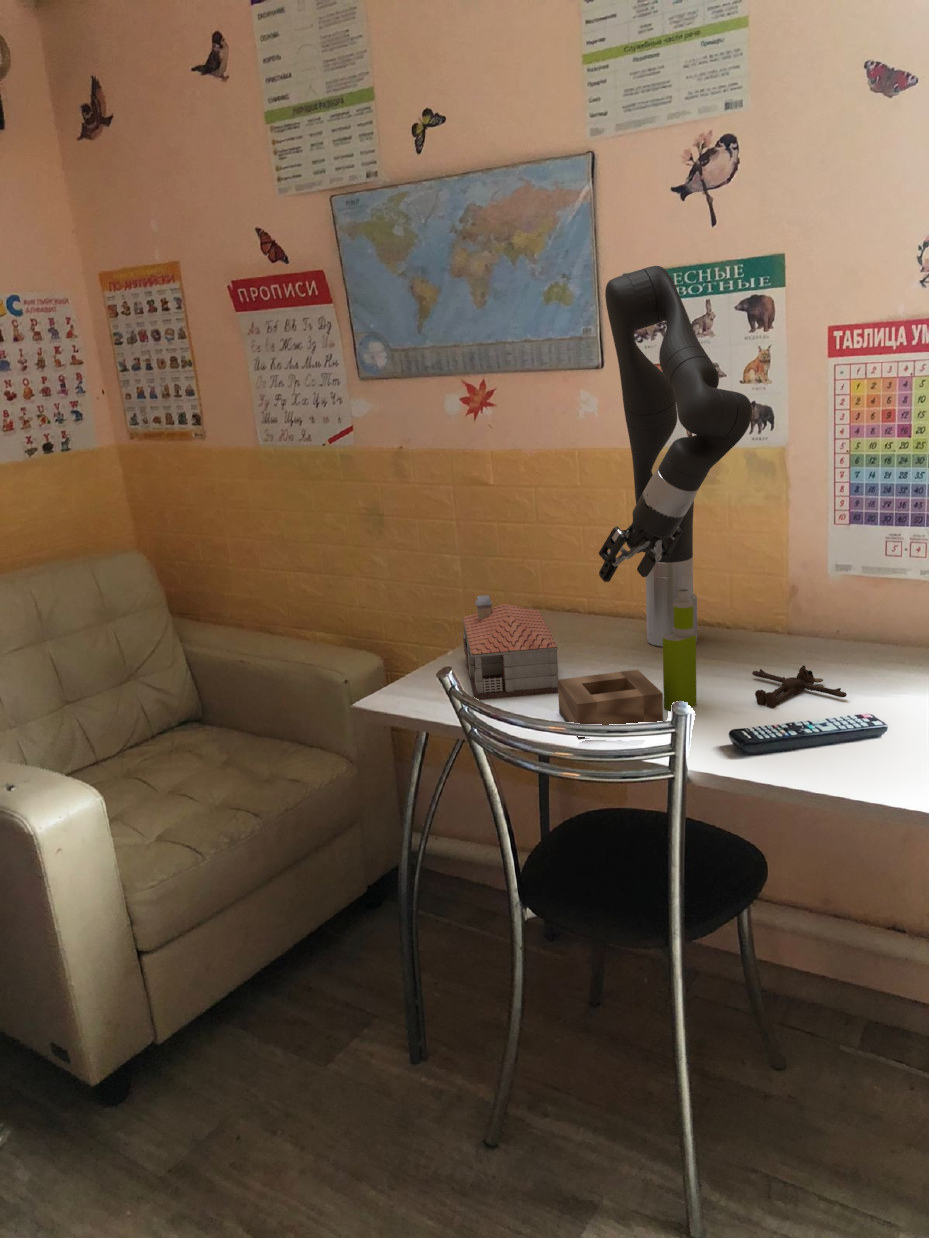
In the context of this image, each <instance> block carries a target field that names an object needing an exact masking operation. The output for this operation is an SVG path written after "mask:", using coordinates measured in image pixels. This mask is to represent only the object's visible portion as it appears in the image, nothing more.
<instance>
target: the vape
mask: <svg viewBox="0 0 929 1238" xmlns="http://www.w3.org/2000/svg"><path fill="white" fill-rule="evenodd" d="M673 606H674V627H673V632H671V633H668V634H666V635H663V647H662V673H663V674H662V676H663V677H662V678H663V683H662V684H663V685H662V686H663V687H662V688H663V710H665V711H668V712H671V705H672V703H673V702H676V701H684V702H688V705H690V706H691V708H690V709H692V708H694V707H696V706H697V705H698V704H697V642H696V633H695V632H694V627H693V600H692V599H689V598H688V590H687V589H680V590H678V599H675V600H674V601H673ZM671 713H672V712H671Z"/></svg>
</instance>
